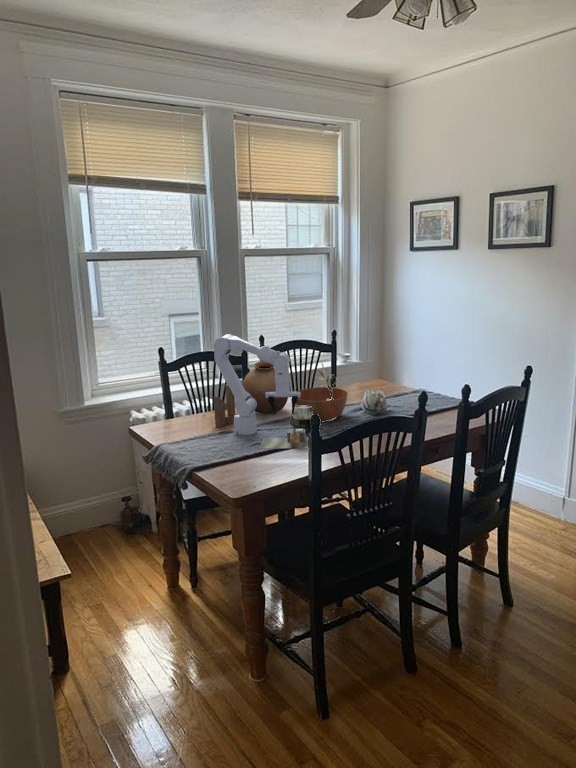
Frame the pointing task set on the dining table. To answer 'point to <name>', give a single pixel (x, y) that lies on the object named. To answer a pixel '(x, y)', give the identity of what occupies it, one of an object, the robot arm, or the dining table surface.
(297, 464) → the dining table surface
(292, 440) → the small yellow jar
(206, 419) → the dining table surface
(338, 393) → the bowl
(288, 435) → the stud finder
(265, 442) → the subfloor board
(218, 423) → the wooden block
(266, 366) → the pottery
